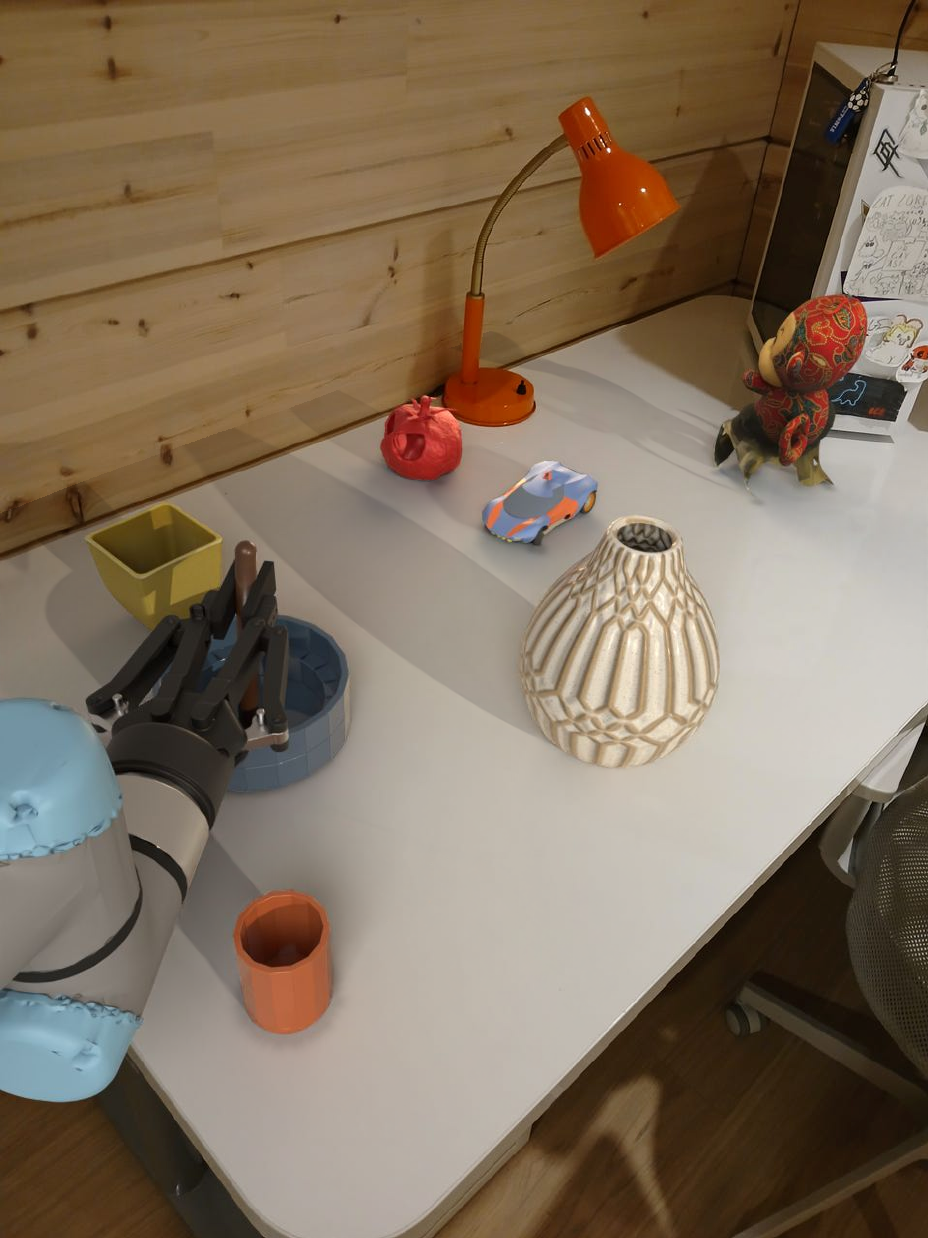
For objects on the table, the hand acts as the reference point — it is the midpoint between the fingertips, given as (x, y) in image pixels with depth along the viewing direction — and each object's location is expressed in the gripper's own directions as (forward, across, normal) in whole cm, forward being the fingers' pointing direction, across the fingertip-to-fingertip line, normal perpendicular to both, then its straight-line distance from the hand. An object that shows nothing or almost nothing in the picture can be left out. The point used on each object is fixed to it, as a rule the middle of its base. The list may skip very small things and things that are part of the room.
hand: (255, 574), depth 74 cm
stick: (-6, 0, -11) cm, 13 cm away
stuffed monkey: (+46, +50, -14) cm, 69 cm away
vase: (+1, +29, -14) cm, 32 cm away
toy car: (+33, +22, -14) cm, 42 cm away
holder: (-26, +8, -14) cm, 30 cm away
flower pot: (+10, -12, -14) cm, 21 cm away
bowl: (-3, 0, -14) cm, 14 cm away
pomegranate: (+42, +8, -14) cm, 45 cm away
